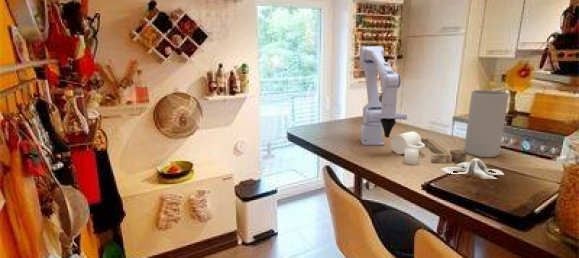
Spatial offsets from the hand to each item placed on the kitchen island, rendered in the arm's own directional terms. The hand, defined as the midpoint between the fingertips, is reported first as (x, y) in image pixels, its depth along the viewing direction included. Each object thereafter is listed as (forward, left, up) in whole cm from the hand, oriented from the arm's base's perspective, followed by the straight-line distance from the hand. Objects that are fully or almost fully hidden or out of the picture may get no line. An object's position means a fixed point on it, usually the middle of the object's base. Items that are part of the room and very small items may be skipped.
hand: (386, 136), depth 134 cm
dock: (+18, +1, -7) cm, 20 cm away
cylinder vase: (+39, +1, -7) cm, 40 cm away
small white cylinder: (+7, -10, -7) cm, 14 cm away
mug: (+10, +1, -7) cm, 12 cm away
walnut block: (+25, -9, -7) cm, 28 cm away
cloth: (+26, -23, -8) cm, 35 cm away
